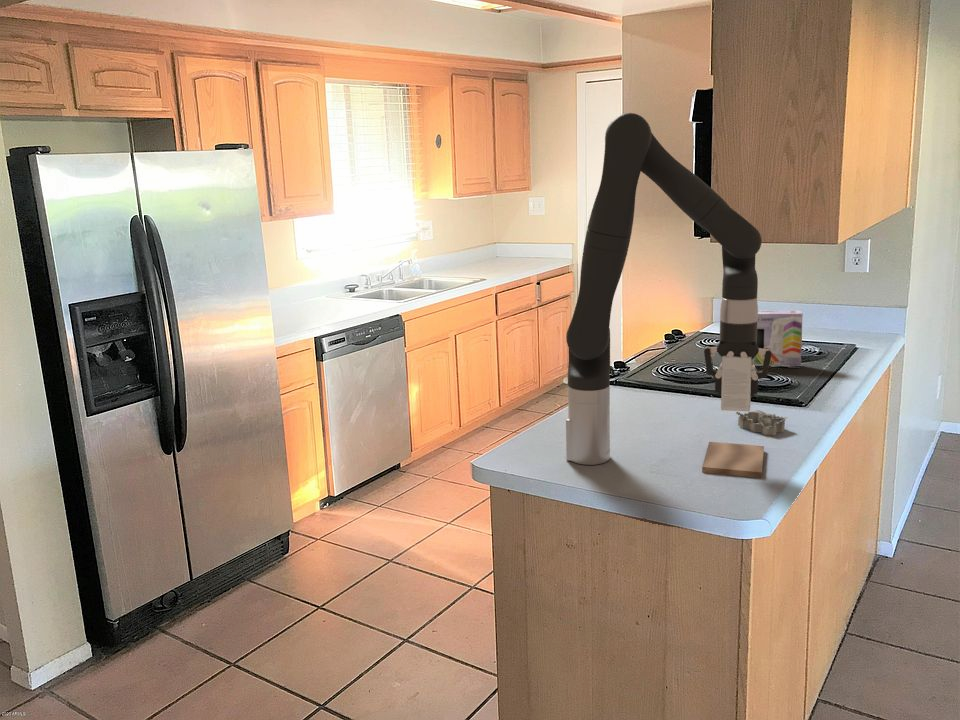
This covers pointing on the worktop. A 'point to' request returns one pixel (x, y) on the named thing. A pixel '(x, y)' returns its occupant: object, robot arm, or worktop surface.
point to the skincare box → (736, 383)
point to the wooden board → (734, 459)
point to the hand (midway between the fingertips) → (736, 394)
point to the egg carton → (762, 422)
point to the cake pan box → (780, 336)
